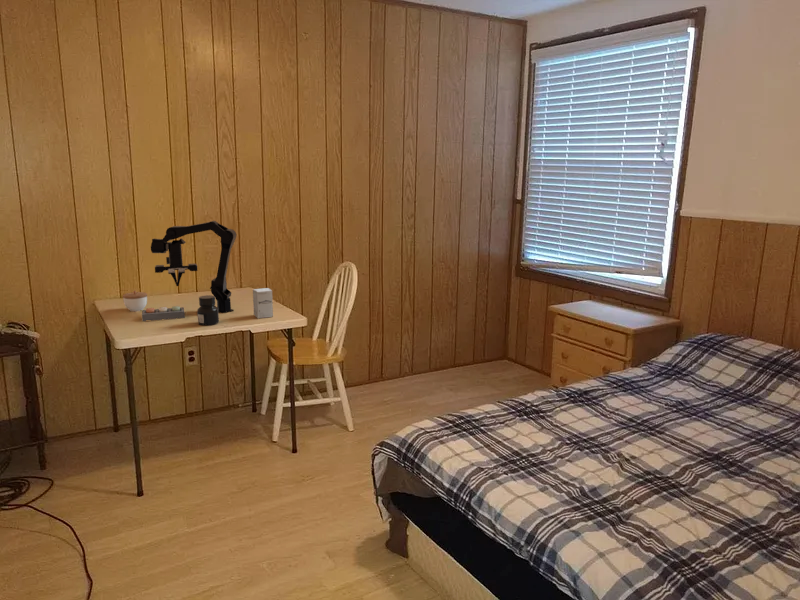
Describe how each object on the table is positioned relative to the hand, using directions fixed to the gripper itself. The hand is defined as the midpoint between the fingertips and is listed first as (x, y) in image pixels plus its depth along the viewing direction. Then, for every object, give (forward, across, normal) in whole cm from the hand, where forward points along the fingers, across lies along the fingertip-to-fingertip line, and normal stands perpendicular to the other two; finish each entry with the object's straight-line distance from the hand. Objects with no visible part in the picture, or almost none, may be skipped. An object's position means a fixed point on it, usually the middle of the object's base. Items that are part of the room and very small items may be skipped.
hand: (177, 286), depth 290 cm
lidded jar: (+13, +19, -9) cm, 25 cm away
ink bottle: (+12, -12, +28) cm, 33 cm away
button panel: (+12, +7, +10) cm, 17 cm away
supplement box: (+12, -37, +22) cm, 45 cm away
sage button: (+10, +1, +10) cm, 14 cm away
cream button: (+10, +7, +10) cm, 16 cm away
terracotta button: (+10, +12, +10) cm, 19 cm away
